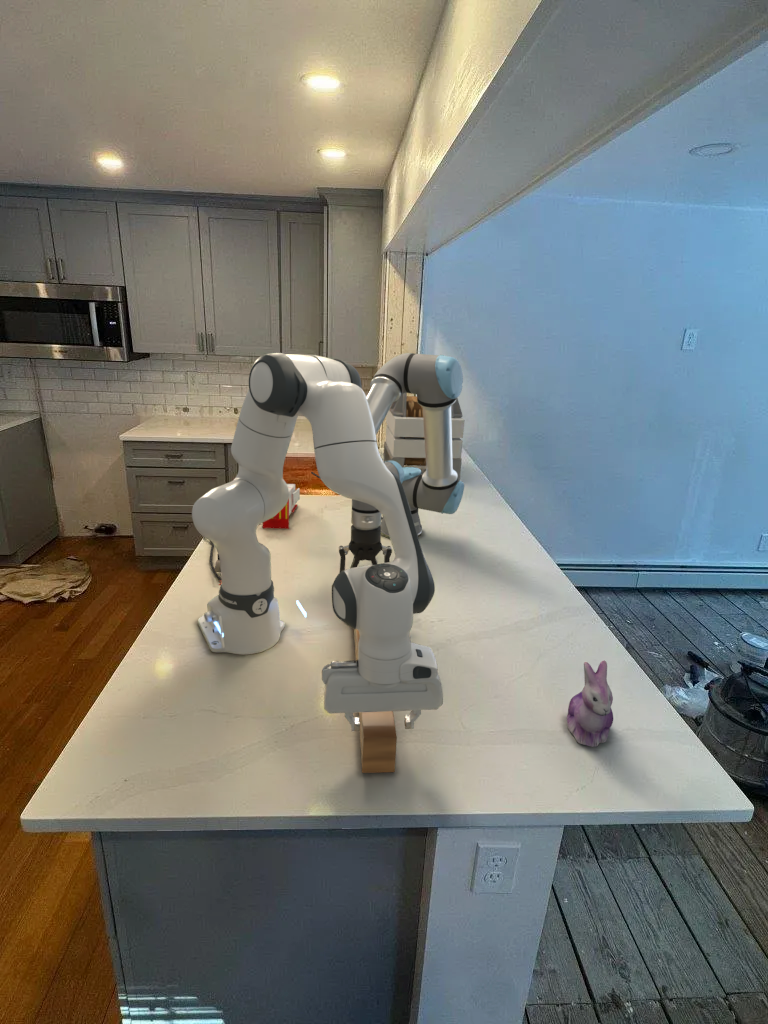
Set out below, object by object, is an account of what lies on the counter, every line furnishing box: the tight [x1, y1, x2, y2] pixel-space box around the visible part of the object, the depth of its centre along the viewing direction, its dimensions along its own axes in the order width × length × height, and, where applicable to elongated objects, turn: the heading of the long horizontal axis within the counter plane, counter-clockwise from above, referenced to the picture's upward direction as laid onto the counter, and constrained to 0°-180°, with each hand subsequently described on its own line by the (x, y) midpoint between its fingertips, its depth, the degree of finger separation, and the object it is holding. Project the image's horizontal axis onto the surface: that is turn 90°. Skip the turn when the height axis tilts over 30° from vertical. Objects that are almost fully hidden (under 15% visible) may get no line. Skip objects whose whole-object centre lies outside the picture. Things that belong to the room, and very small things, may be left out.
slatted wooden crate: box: [383, 393, 465, 481], centre depth 268 cm, size 34×33×41 cm
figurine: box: [566, 660, 614, 748], centre depth 106 cm, size 9×10×15 cm
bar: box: [353, 629, 398, 774], centre depth 124 cm, size 60×6×8 cm, turn 5°
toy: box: [262, 483, 301, 530], centre depth 210 cm, size 12×13×30 cm
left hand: (382, 727), depth 99 cm, fingers open, 8 cm apart
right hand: (363, 606), depth 149 cm, fingers closed on bar, 6 cm apart
